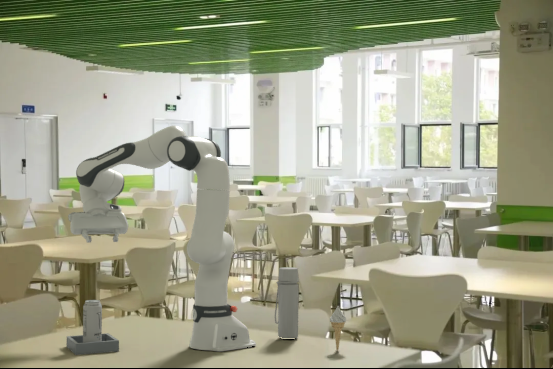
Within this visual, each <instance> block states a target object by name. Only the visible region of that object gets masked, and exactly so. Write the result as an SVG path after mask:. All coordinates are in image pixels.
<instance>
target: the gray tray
mask: <svg viewBox="0 0 553 369" xmlns="http://www.w3.org/2000/svg"><path fill="white" fill-rule="evenodd" d="M66 348H67V349H68V350H69V351H71V353H73V354H74V355H75V356H77V355H78V356H79V355H90V354H100V353H113V352H119V351H120V340H119V339H118V338H116V337H115V336H113V335H112V334H110V333H109V332H107V333H106V332H105V333H102V341H98V342H86V343H83V334H80V335H79V334H78V335H67V336H66Z"/></svg>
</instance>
